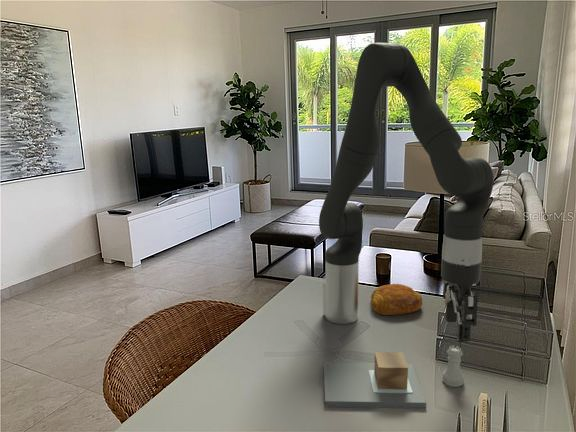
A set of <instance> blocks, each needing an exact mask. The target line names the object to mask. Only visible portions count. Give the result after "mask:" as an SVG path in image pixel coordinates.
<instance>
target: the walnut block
mask: <svg viewBox="0 0 576 432" xmlns="http://www.w3.org/2000/svg"><path fill="white" fill-rule="evenodd" d="M373 364H374V374H375V378H376V383H377V387H378V389H407V381H408V366H407V364H408V363H407V361H406V358H405V355H404V352H399V351H398V352H393V351H392V352H387V351H382V352H381V351H375V352H374V363H373Z"/></svg>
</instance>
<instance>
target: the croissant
mask: <svg viewBox="0 0 576 432" xmlns="http://www.w3.org/2000/svg"><path fill="white" fill-rule="evenodd" d="M370 304H371V308H373V310H374V311H375V312H376V313H378V314H379V315H382V316H390V315H391V316H393V315H394V316H395V315H404V314H409V313H414V312H417V311H419V310H420V309H421V308H422V306H423V298H422V295H421V294H420V292H417V291H416V290H414V289H413V288H412V287H410V286H408V285H405V284H399V283H392V284H385V285H383V284H382V285H381V286H378V287H377V288H375V290H373V291H372V293H371V296H370Z"/></svg>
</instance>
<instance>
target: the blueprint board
mask: <svg viewBox="0 0 576 432" xmlns="http://www.w3.org/2000/svg"><path fill="white" fill-rule="evenodd" d="M374 364H375V363H371V362H370V363H368V362H367V363H366V362H363V363H362V362H361V363H360V362H359V363H358V362H357V363H356V362H355V363H353V362H348V363H347V362H345V363H344V362H324V363H323V383H324V384H323V387H324V406H325V407H337V408H338V407H340V408H341V407H343V408H347V407H348V408H401V409H402V408H404V409H405V408H407V409H409V408H410V409H426V408H427V402H426V401H427V400H426V398H425V396H424V393H423V390H422V389H421V385H420V383H419V380H418V377H417V374H416V373H415V370H414V368H413V365H412V363H407V366H408V381H407V389H378V387H377V383H376V378H375V374H374Z"/></svg>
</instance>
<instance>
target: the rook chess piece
mask: <svg viewBox="0 0 576 432" xmlns="http://www.w3.org/2000/svg"><path fill="white" fill-rule="evenodd" d="M446 354H447V355H448V356H447V361H448V363H447V366H446V368H445V370H444V371H443V372H442V381H443V383H444V384H445V385H446V386H448V387H451V388H459V387H462V386H463V385H464V379H465V377H464V374H463V372H462V370H461V362H462V358H461V357H462V356H463V355H464V353H463V351H462V348H461V347H459V346H455V345H450V346H449V347H448V349H447V350H446Z"/></svg>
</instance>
